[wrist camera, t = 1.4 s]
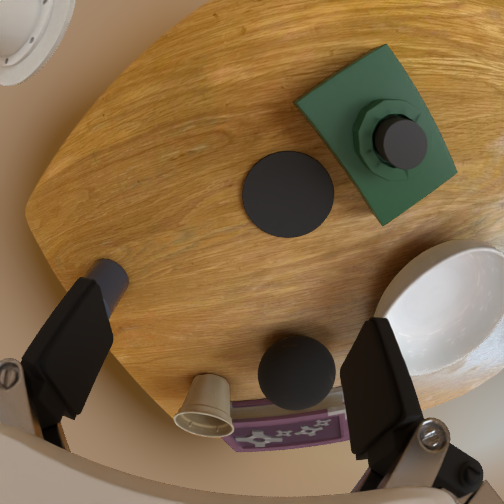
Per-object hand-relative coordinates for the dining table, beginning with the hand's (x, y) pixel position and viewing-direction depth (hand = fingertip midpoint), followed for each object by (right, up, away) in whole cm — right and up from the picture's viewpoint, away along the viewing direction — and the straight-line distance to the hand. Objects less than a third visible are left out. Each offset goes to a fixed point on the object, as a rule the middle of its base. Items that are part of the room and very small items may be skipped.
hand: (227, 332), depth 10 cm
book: (+7, -29, +41) cm, 51 cm away
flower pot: (-6, -19, +36) cm, 41 cm away
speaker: (+7, -10, +30) cm, 32 cm away
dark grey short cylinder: (+13, +12, +11) cm, 20 cm away
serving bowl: (+25, -2, +24) cm, 34 cm away
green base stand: (+13, +14, +15) cm, 24 cm away
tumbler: (-18, 0, +25) cm, 31 cm away
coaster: (+4, +8, +19) cm, 21 cm away
